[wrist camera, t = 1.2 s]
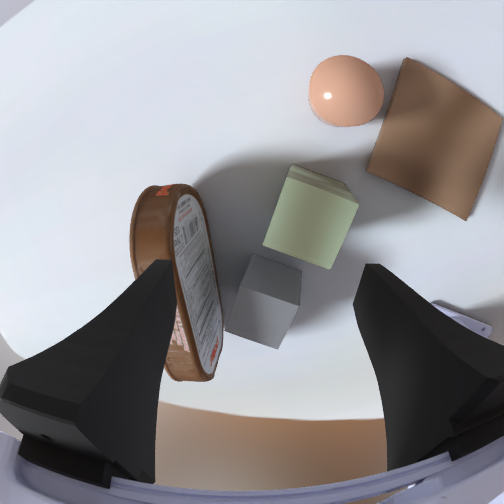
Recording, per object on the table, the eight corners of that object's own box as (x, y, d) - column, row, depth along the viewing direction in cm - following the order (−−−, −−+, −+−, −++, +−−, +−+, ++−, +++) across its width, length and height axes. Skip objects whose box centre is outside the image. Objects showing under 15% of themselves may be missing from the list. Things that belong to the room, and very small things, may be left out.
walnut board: (497, 118, 15) (502, 118, 15) (461, 218, 19) (466, 221, 18) (403, 59, 16) (406, 57, 15) (365, 170, 19) (367, 171, 19)
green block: (345, 183, 20) (359, 204, 15) (324, 233, 22) (330, 270, 16) (291, 163, 20) (286, 176, 15) (273, 215, 22) (262, 245, 16)
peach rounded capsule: (373, 85, 17) (392, 73, 12) (355, 135, 19) (370, 138, 14) (318, 64, 17) (321, 45, 13) (301, 114, 19) (299, 110, 14)
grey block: (301, 271, 23) (299, 306, 19) (283, 310, 25) (277, 349, 20) (253, 253, 23) (239, 285, 19) (239, 294, 25) (224, 330, 21)
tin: (170, 176, 22) (106, 204, 14) (209, 171, 21) (156, 197, 14) (202, 336, 28) (171, 401, 20) (234, 338, 27) (209, 407, 20)
